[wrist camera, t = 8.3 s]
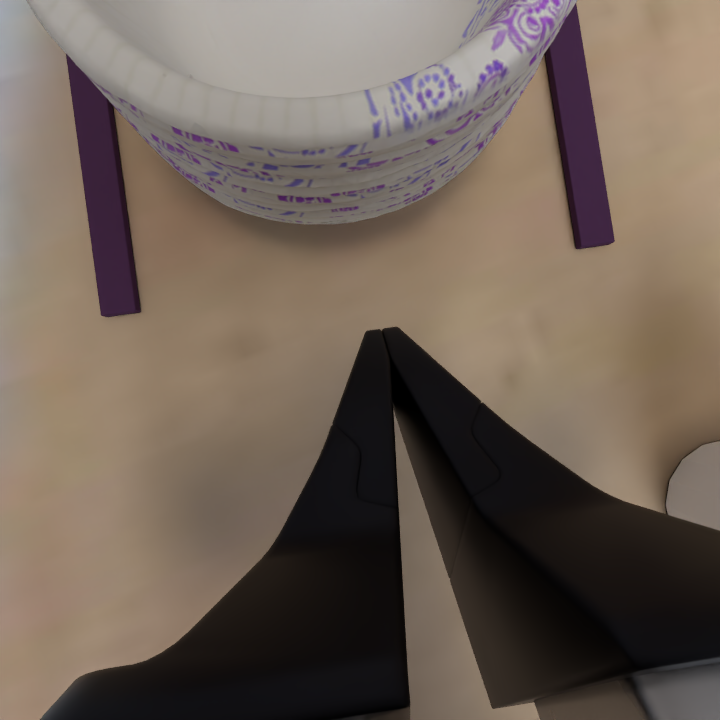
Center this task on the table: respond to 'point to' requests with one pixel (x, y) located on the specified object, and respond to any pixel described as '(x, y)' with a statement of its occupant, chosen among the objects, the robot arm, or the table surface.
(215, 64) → the paper bowls
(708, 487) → the shot glass
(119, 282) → the frame
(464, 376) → the table surface
